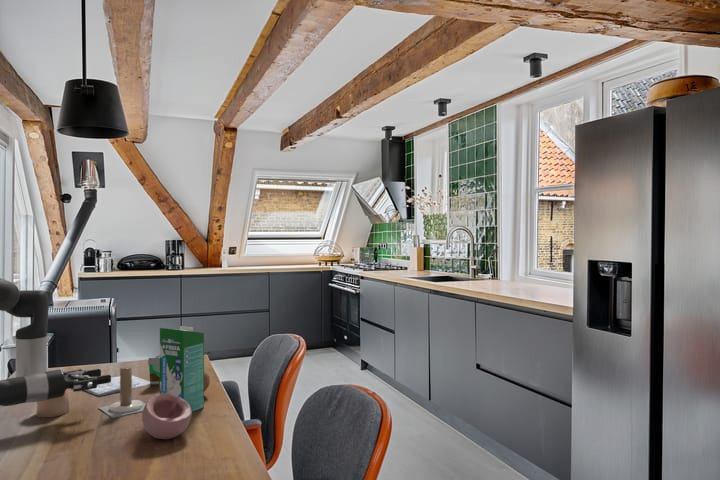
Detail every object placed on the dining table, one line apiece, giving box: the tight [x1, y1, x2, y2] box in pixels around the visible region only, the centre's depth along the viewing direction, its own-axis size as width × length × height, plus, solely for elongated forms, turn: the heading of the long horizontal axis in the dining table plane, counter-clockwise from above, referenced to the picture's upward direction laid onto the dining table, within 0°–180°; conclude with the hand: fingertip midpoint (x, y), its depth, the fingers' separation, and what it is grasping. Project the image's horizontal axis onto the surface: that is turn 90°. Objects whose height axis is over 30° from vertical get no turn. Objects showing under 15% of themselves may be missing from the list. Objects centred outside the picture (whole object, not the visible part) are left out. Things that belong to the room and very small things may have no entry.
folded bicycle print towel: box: [84, 374, 150, 397], centre depth 189 cm, size 19×20×2 cm
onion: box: [204, 370, 211, 392], centre depth 176 cm, size 10×9×10 cm
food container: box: [147, 355, 160, 387], centre depth 192 cm, size 12×6×10 cm, turn 168°
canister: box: [35, 389, 70, 418], centre depth 159 cm, size 8×8×7 cm
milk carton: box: [159, 325, 205, 413], centre depth 162 cm, size 9×9×25 cm
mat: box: [98, 399, 147, 419], centre depth 163 cm, size 12×12×1 cm
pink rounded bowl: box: [141, 393, 193, 440], centre depth 140 cm, size 12×12×12 cm
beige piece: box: [108, 366, 143, 413], centre depth 163 cm, size 9×9×12 cm
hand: (105, 375), depth 159 cm, fingers open, 8 cm apart
